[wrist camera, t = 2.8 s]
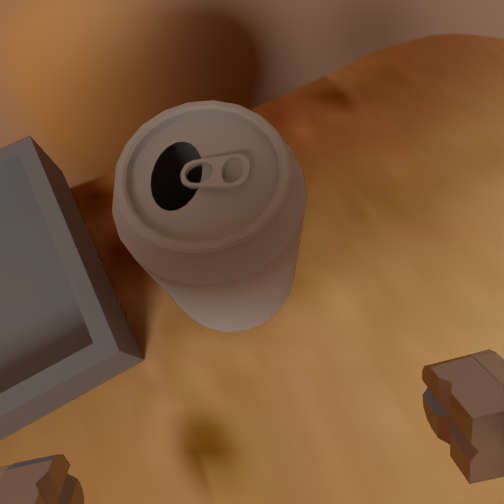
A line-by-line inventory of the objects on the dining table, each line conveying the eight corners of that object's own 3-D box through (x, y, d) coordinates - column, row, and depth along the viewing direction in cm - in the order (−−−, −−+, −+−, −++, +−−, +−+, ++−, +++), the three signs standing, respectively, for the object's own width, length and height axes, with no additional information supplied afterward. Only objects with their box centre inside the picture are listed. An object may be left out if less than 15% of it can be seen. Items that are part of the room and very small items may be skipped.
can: (184, 217, 26) (119, 77, 15) (297, 225, 26) (315, 85, 15) (164, 329, 24) (67, 259, 12) (289, 340, 23) (304, 279, 12)
